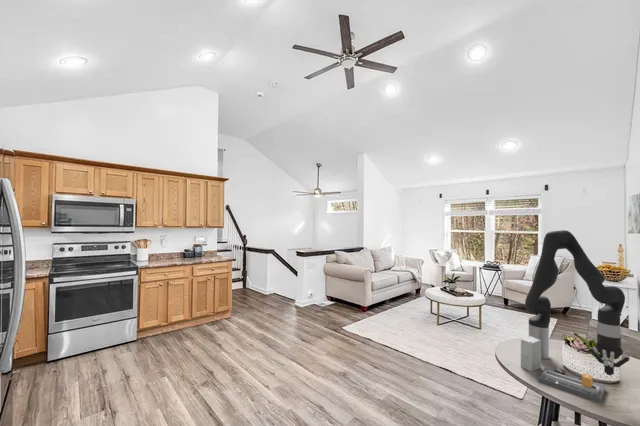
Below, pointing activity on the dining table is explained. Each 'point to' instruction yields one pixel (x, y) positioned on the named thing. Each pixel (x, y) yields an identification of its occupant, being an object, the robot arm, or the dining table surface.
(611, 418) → the dining table surface
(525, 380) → the dining table surface
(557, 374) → the console
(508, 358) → the dining table surface
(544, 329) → the robot arm
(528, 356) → the skincare box
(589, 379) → the fader knob
